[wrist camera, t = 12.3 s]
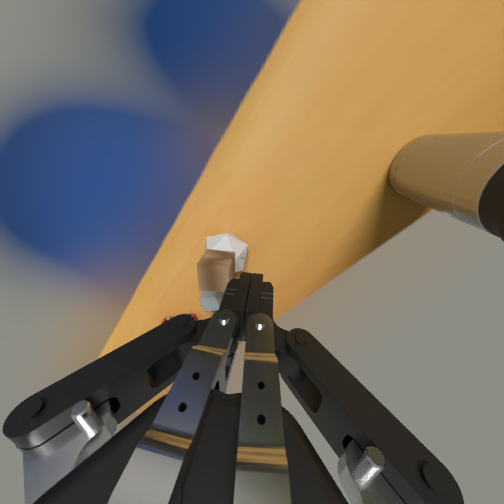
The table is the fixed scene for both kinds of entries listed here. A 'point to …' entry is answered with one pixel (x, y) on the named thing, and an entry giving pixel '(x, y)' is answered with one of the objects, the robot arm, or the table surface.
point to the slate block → (211, 300)
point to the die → (229, 247)
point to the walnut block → (215, 270)
